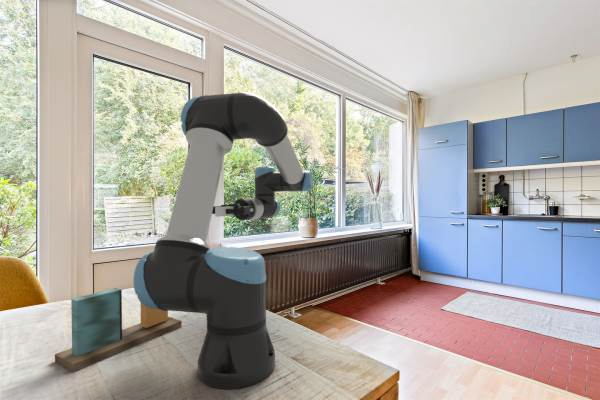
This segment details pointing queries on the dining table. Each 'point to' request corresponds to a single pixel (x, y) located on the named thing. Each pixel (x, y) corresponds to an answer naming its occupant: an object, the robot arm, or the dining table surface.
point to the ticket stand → (104, 330)
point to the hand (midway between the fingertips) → (199, 211)
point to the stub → (152, 316)
